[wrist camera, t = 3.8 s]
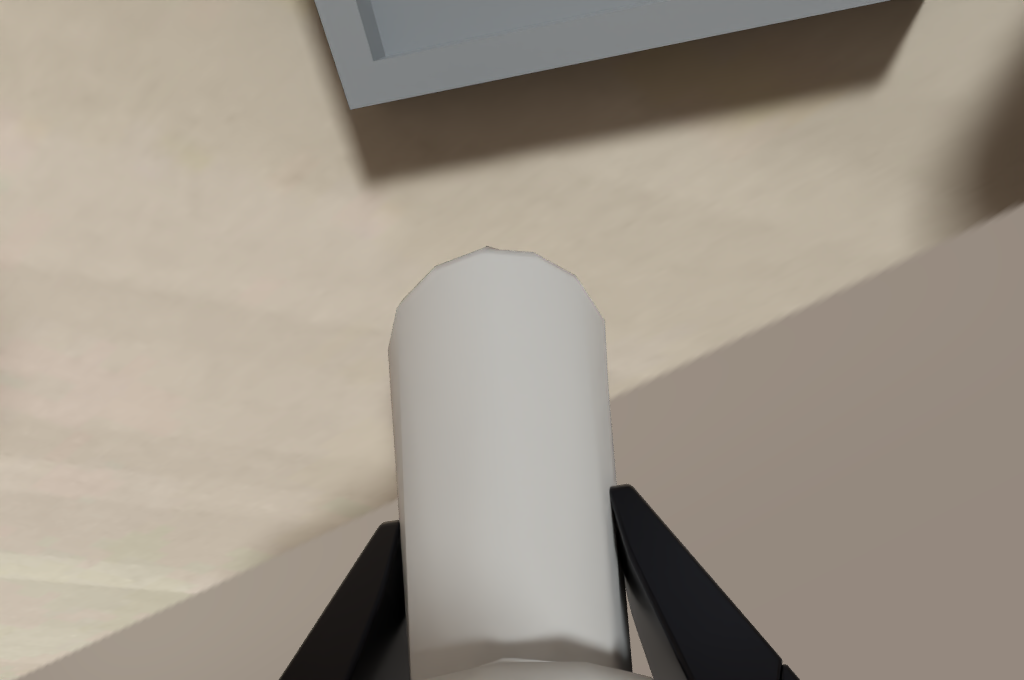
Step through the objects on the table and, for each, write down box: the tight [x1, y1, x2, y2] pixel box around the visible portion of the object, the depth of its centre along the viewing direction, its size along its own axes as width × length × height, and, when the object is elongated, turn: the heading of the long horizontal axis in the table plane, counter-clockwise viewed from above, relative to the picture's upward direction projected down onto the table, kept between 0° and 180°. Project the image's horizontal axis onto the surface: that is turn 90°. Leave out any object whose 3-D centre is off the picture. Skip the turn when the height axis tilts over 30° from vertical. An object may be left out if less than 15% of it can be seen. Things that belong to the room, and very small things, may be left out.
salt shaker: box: [388, 246, 654, 680], centre depth 10 cm, size 6×6×13 cm
